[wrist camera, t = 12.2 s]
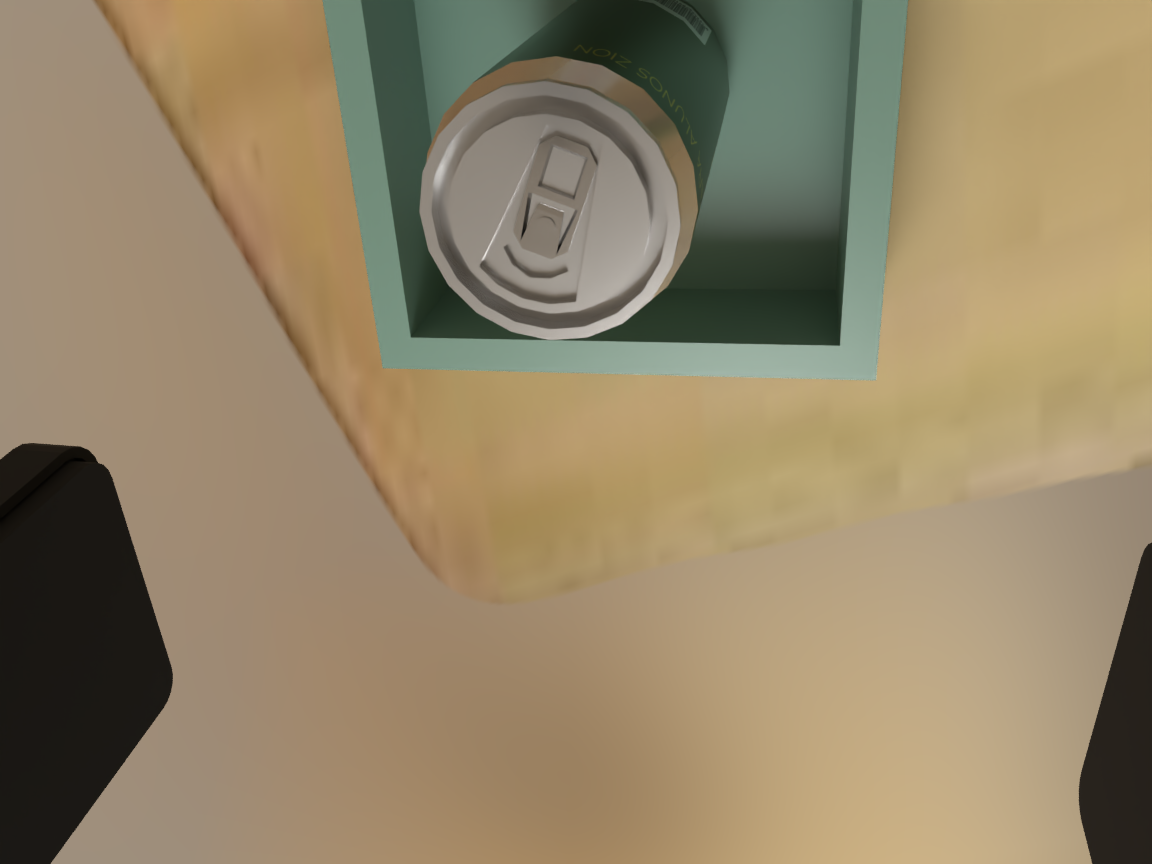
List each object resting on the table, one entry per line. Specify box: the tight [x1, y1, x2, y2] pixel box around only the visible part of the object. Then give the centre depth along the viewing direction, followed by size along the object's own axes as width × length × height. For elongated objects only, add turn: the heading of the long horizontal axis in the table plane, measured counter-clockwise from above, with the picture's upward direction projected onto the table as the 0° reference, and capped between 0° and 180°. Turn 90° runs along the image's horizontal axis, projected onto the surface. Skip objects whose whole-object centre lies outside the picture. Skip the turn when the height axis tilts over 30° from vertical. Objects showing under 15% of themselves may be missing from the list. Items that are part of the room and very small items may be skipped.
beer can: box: [419, 0, 729, 340], centre depth 25 cm, size 5×5×12 cm
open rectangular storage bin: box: [323, 0, 908, 380], centre depth 29 cm, size 14×14×5 cm
